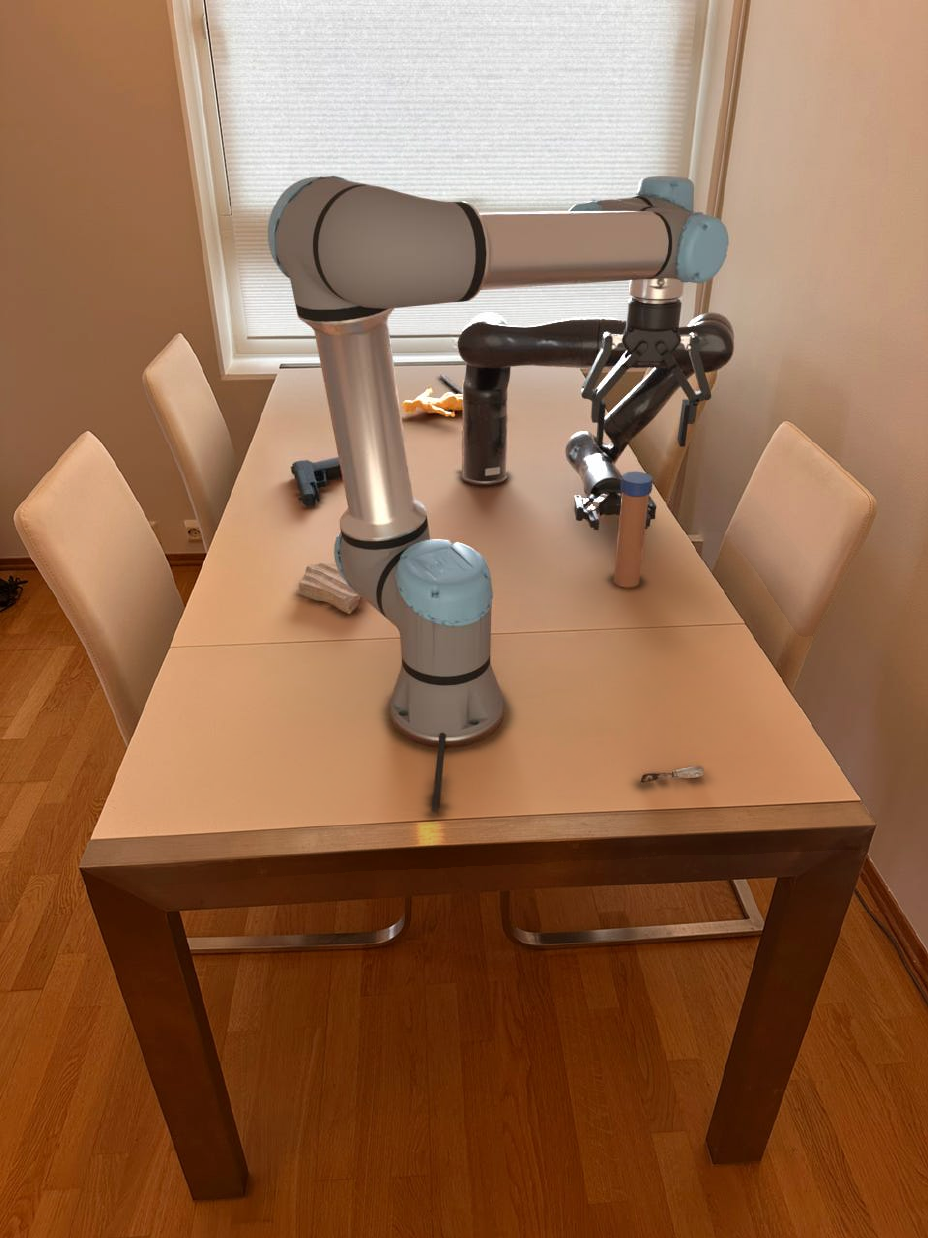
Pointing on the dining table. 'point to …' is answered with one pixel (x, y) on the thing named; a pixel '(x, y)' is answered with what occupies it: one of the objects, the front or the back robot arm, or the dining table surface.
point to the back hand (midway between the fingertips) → (621, 525)
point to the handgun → (314, 477)
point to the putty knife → (674, 774)
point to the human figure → (435, 403)
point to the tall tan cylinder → (630, 540)
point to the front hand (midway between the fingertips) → (640, 442)
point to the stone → (328, 587)
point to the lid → (636, 484)
